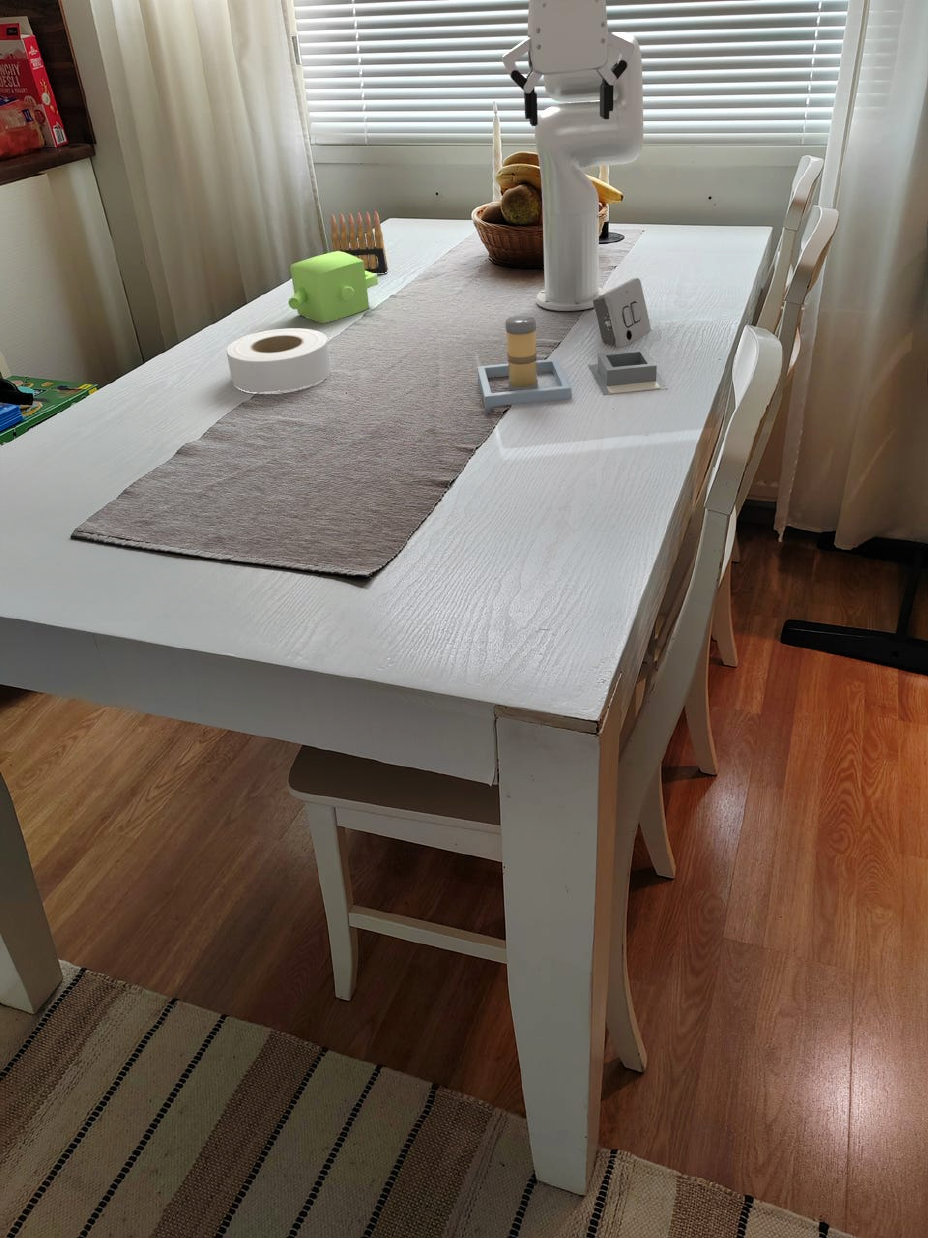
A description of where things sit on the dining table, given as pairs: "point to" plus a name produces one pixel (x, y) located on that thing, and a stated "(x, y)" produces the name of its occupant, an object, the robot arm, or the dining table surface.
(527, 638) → the dining table surface
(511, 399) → the tray
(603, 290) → the robot arm
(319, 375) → the roll of tape
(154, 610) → the dining table surface
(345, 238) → the ammunition clip
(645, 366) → the grey square socket holder
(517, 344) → the fuse
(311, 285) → the gearbox
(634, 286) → the electrical switch
